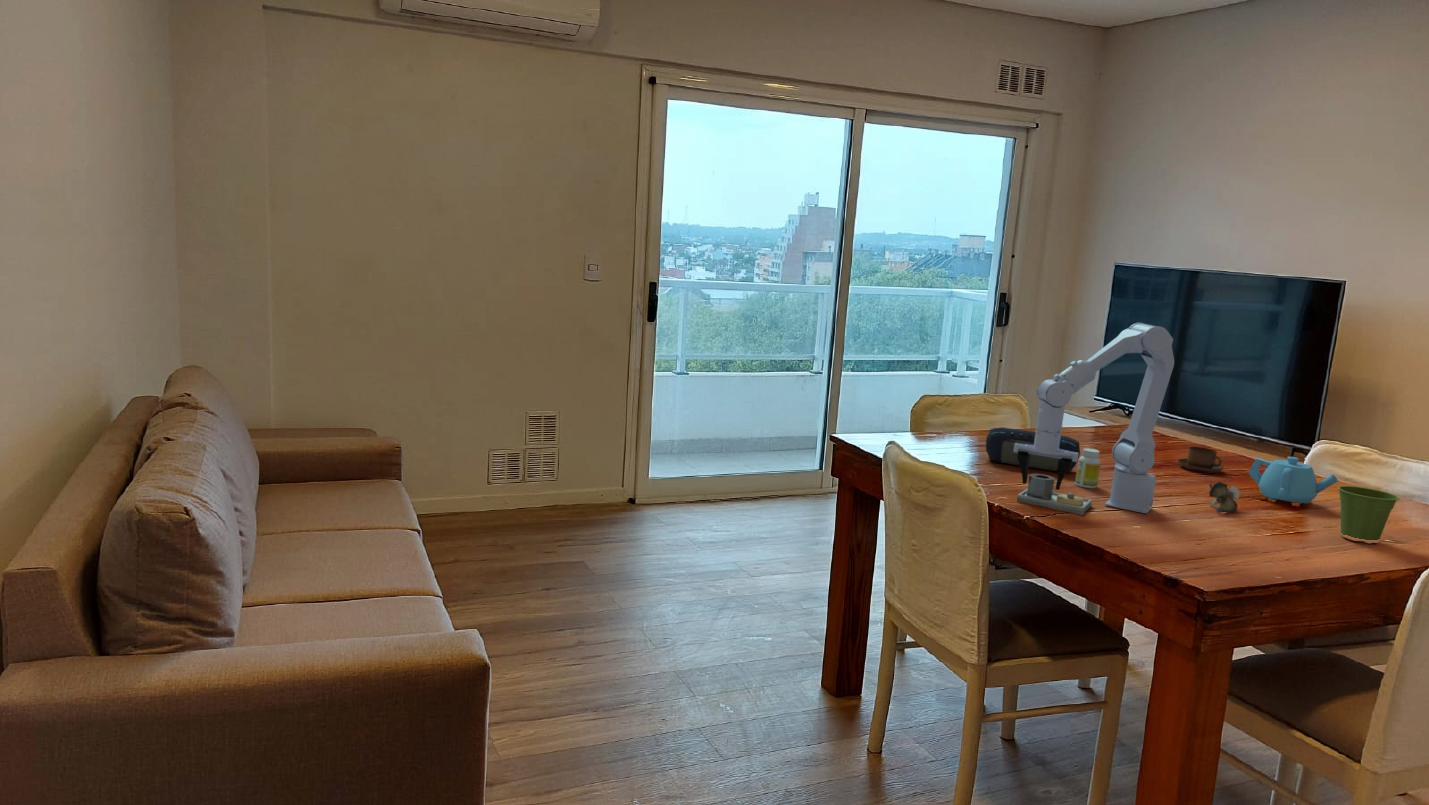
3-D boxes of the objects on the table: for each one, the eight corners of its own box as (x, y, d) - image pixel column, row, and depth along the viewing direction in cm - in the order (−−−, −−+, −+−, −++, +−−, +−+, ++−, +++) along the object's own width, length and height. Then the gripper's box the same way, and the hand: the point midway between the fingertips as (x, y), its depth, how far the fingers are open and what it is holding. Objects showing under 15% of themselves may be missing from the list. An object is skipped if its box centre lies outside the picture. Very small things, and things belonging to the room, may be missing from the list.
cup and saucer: (1227, 471, 285) (1230, 451, 284) (1215, 477, 276) (1219, 456, 275) (1184, 463, 293) (1187, 443, 292) (1171, 468, 284) (1174, 447, 283)
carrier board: (1091, 506, 233) (1093, 493, 232) (1082, 514, 224) (1084, 501, 224) (1027, 493, 241) (1029, 480, 240) (1016, 501, 232) (1018, 488, 232)
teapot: (1239, 498, 252) (1246, 454, 250) (1250, 488, 265) (1258, 446, 263) (1328, 517, 240) (1337, 470, 238) (1336, 505, 253) (1345, 461, 251)
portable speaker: (981, 463, 271) (985, 428, 270) (985, 456, 280) (989, 422, 279) (1076, 478, 262) (1081, 441, 260) (1077, 470, 271) (1082, 435, 270)
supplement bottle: (1070, 484, 254) (1076, 448, 252) (1081, 482, 257) (1087, 446, 255) (1090, 489, 250) (1095, 453, 248) (1100, 487, 253) (1106, 451, 251)
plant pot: (1395, 542, 222) (1405, 494, 220) (1383, 551, 213) (1393, 502, 211) (1336, 528, 230) (1345, 482, 228) (1322, 536, 222) (1331, 489, 220)
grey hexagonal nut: (1053, 496, 235) (1056, 476, 234) (1049, 501, 230) (1052, 481, 229) (1029, 492, 238) (1032, 472, 237) (1025, 497, 233) (1028, 477, 232)
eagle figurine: (1196, 496, 246) (1199, 497, 237) (1218, 473, 245) (1222, 474, 236) (1223, 518, 244) (1228, 520, 235) (1246, 496, 242) (1251, 497, 233)
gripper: (1082, 432, 231) (1074, 487, 234) (1020, 423, 238) (1013, 477, 240) (1079, 437, 225) (1071, 493, 227) (1015, 427, 231) (1007, 482, 234)
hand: (1041, 485), depth 233 cm, fingers open, 7 cm apart
